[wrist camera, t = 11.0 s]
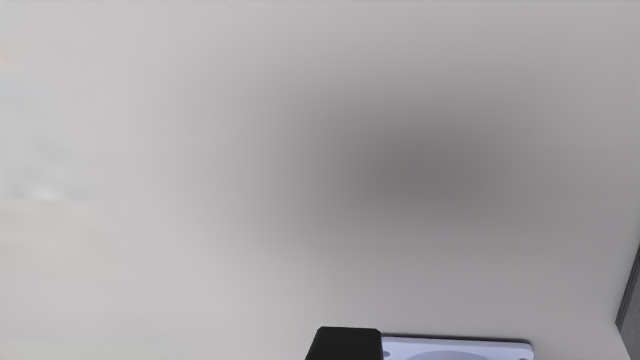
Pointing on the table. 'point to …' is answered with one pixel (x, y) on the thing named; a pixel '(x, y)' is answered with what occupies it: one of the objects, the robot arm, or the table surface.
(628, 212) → the table surface
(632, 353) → the grey compartment tray
